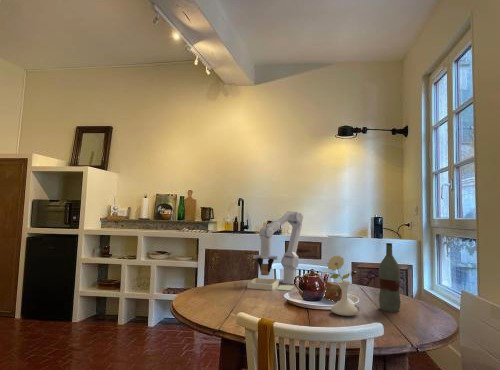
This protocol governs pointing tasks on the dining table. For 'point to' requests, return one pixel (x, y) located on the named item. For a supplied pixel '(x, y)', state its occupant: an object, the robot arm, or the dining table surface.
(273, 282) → the cream tray
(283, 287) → the mat
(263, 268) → the block
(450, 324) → the dining table surface
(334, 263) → the flower in vase
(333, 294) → the tin
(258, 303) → the dining table surface
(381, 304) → the bottle
